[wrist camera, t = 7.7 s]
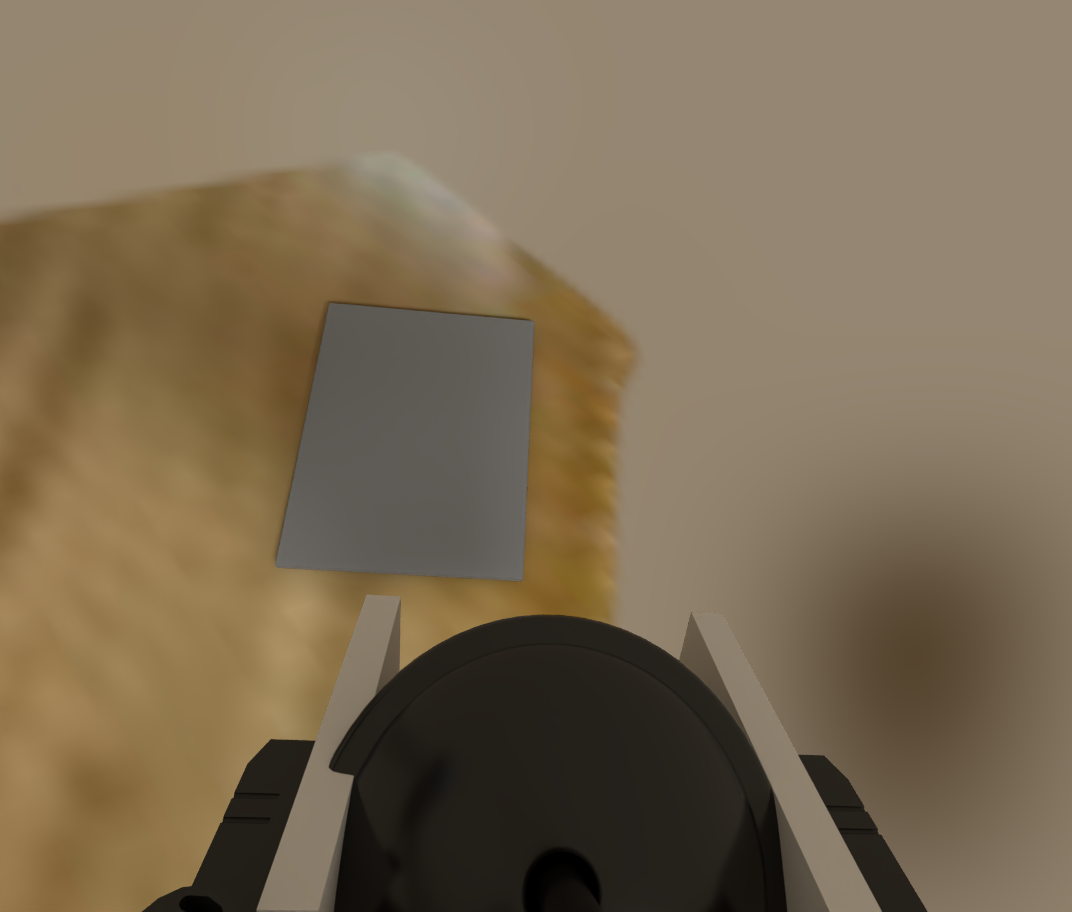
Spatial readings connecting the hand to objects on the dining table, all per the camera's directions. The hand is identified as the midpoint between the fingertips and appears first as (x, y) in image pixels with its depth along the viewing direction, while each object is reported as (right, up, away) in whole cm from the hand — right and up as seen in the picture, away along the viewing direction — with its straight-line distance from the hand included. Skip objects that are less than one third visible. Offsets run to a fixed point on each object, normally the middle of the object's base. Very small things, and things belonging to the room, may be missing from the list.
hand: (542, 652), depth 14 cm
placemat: (-8, +6, +24) cm, 26 cm away
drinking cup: (-1, -7, +8) cm, 10 cm away
